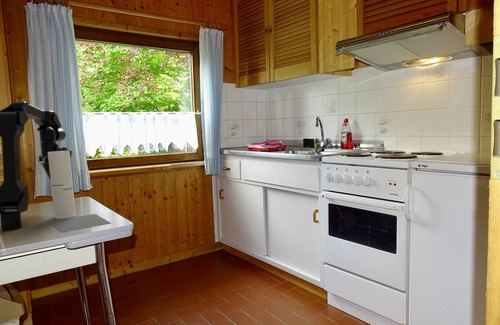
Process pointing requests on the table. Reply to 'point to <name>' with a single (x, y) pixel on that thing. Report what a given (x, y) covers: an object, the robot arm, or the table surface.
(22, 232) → the table surface
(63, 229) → the mat
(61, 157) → the cylindrical container
